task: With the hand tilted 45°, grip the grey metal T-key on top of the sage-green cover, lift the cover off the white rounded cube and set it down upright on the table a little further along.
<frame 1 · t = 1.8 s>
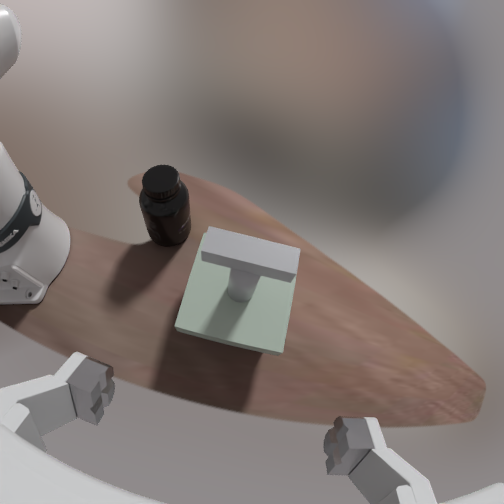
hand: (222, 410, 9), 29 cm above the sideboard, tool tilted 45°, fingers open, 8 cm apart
supplement bottle: (170, 229, 45), on the sideboard
cover: (238, 297, 36), point 5 cm above the sideboard, touching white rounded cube
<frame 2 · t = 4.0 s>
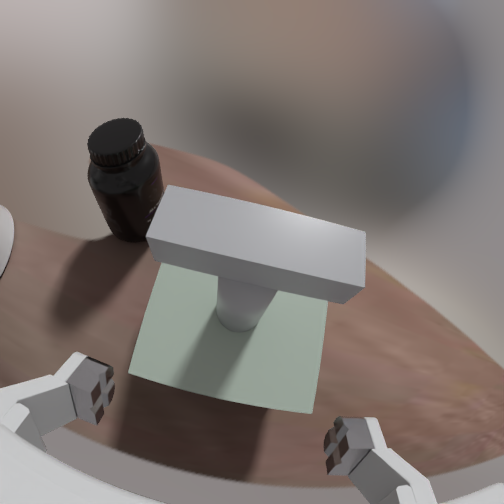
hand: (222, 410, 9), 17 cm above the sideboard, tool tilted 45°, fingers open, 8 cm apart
supplement bottle: (138, 218, 31), on the sideboard
cover: (236, 320, 22), point 5 cm above the sideboard, touching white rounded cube
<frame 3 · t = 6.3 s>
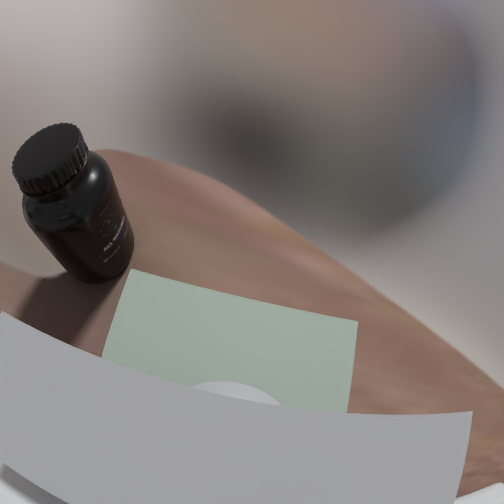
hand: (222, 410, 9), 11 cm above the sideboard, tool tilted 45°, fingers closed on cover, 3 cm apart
supplement bottle: (100, 249, 23), on the sideboard
cover: (217, 414, 14), point 5 cm above the sideboard, touching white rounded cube, gripper
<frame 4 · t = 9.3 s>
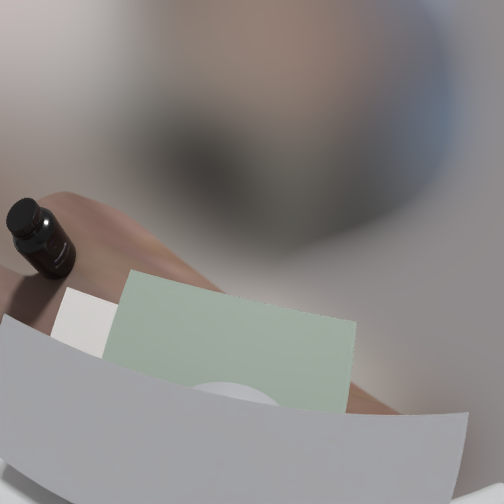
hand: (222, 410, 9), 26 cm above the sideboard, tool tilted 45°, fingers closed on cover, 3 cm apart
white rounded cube: (109, 352, 32), on the sideboard
supplement bottle: (58, 259, 37), on the sideboard
cover: (216, 414, 14), point 20 cm above the sideboard, touching gripper
when the fingers open (7 cm above the sideboard, at t = 12.3 s): cover stays where it is, on the sideboard.
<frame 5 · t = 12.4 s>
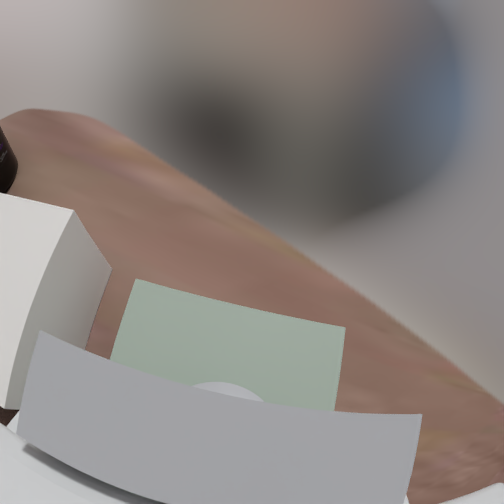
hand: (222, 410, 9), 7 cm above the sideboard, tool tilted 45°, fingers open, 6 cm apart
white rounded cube: (32, 314, 16), on the sideboard
cover: (215, 412, 15), on the sideboard, touching gripper
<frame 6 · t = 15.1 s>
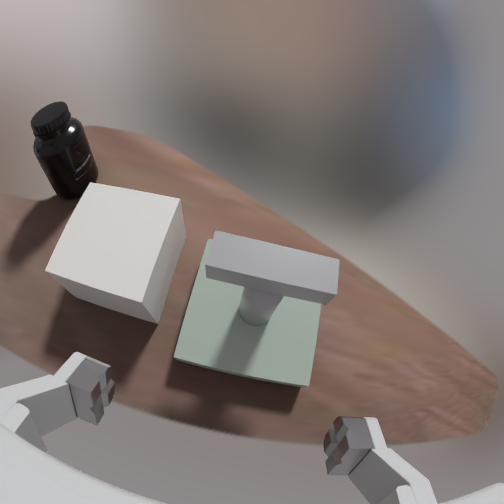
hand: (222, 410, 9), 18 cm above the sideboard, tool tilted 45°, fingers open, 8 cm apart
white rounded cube: (129, 267, 30), on the sideboard
supplement bottle: (77, 182, 35), on the sideboard
cover: (252, 317, 29), on the sideboard
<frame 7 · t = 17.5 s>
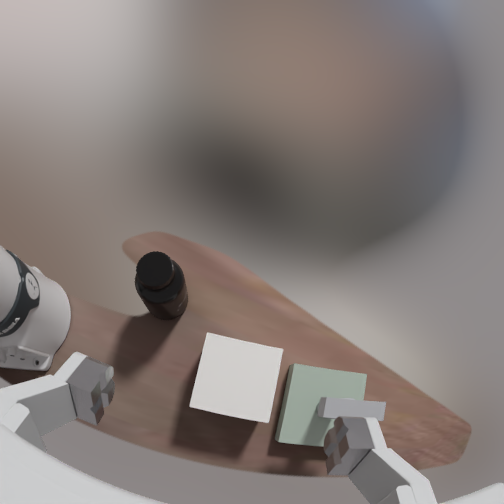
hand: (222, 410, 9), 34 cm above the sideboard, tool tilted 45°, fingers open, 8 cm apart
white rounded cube: (233, 380, 41), on the sideboard
supplement bottle: (167, 300, 45), on the sideboard
cover: (319, 407, 40), on the sideboard
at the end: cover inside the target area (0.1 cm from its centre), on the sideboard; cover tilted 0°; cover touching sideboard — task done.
